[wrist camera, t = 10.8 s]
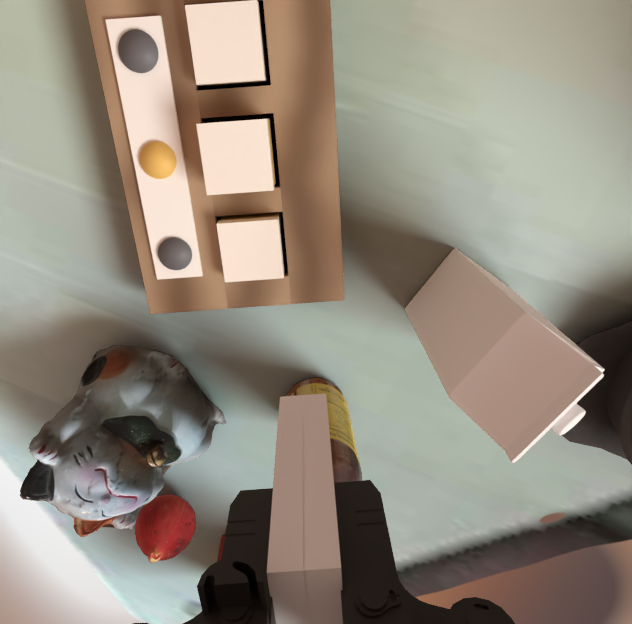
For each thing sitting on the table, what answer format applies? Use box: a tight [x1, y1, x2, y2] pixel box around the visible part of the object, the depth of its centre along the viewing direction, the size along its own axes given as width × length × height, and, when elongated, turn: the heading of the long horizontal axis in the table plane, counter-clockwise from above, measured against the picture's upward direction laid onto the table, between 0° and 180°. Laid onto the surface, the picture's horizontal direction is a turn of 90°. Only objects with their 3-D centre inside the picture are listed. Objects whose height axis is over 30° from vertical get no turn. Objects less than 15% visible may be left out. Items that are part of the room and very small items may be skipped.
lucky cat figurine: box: [20, 345, 226, 537], centre depth 43 cm, size 15×12×14 cm
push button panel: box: [105, 16, 203, 280], centre depth 36 cm, size 4×18×1 cm, turn 4°
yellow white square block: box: [185, 0, 268, 86], centre depth 34 cm, size 5×5×4 cm
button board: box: [84, 0, 344, 314], centre depth 38 cm, size 16×24×4 cm, turn 4°
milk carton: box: [405, 248, 605, 463], centre depth 37 cm, size 7×7×19 cm
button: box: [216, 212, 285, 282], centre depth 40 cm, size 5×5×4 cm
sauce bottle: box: [287, 378, 362, 483], centre depth 40 cm, size 7×6×20 cm
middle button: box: [196, 118, 276, 195], centre depth 35 cm, size 5×5×4 cm
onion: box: [135, 495, 196, 563], centre depth 50 cm, size 6×6×8 cm
